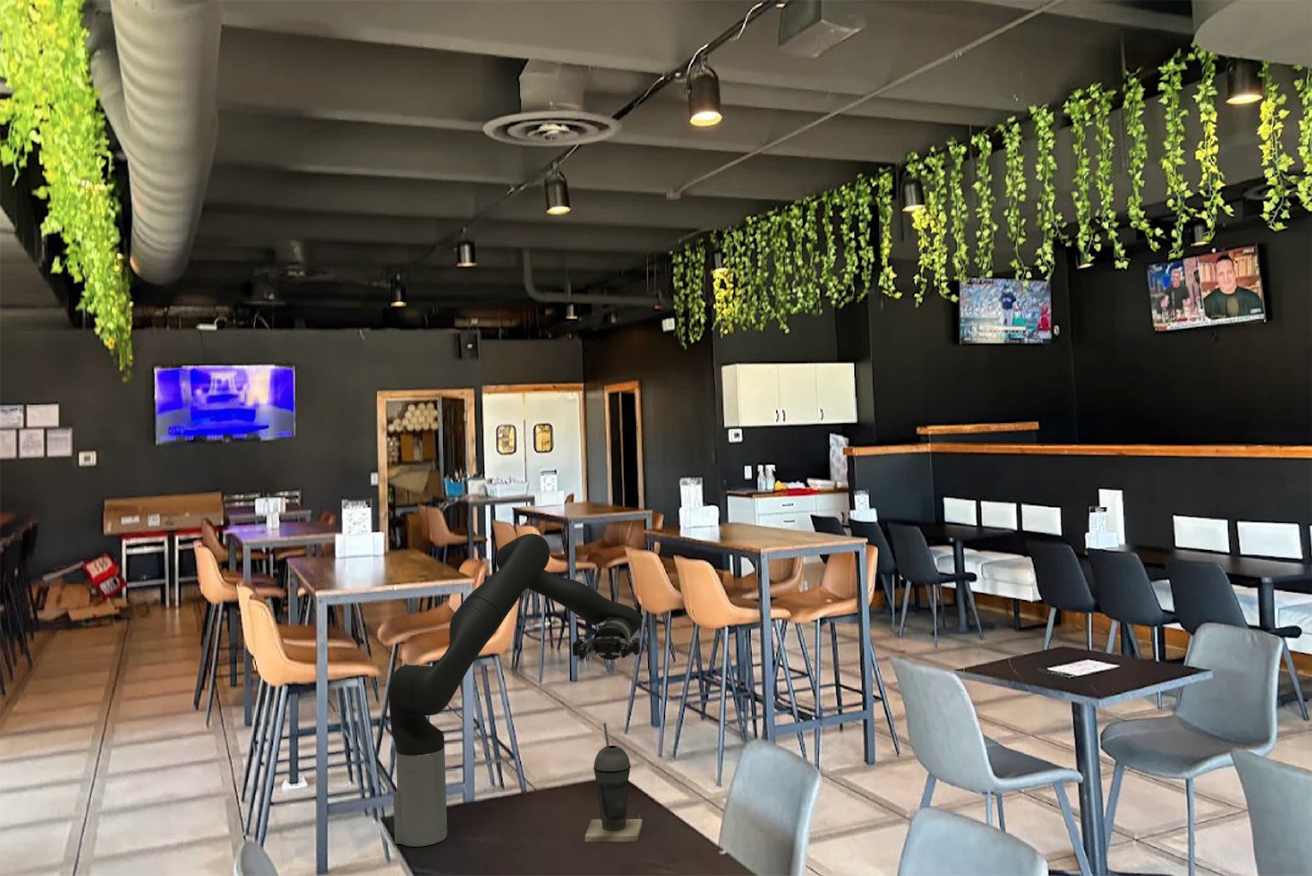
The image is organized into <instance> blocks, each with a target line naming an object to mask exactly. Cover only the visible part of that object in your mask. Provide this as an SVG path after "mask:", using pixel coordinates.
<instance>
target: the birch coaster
mask: <svg viewBox="0 0 1312 876" xmlns="http://www.w3.org/2000/svg"><path fill="white" fill-rule="evenodd" d="M642 826H643V819H642V818H634V819H633V818H632V819H631V818H628V819H627V818H626V827H625V828H624V829H623V830H620V831H606V830H604V829H603V828H602V821H601V818H600V819H597V818H596V819H594V818H591V820H590V823H589V825H588V827H587V830H586V833H585V835H584V842H585V843H587V842H590V843H591V842H592V843H593V842H596V843H597V842H598V843H599V842H602V843H603V842H604V843H605V842H608V843H609V842H610V843H611V842H613V843H614V842H615V843H616V842H617V843H618V842H620V843H621V842H638V841H639V838H640V833H641V831H642Z"/></svg>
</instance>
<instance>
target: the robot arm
mask: <svg viewBox="0 0 1312 876" xmlns="http://www.w3.org/2000/svg"><path fill="white" fill-rule="evenodd" d="M550 556H551V550H550V546H549V543H548V541H547V540H546V539H545V538H544V537H543V536H541V535H539V534H537V533H526V534H522V535H520V536H519V537H516V538H515V539H512V540H511V541H509V542H507V543H506V544H504V545H502V546H501V547H500V548H499V549H498V551H497V553H496V556H495V562H496V566H497V571H495V572H494V573H493V574H492V575H491V576H489V577H488V578H487V579H485V580H484V581H483V582H482V583H481V584H480V585H478V586H477V587H476V588H475V589H474V590H473V591H472V592H470V594H469V595H467V597H466V598H465V599H464V601H463V602H462V603H461V604H460V605H459V606H458V608H457V609H456V611H455V612H454V613H453V614H452V617H451V618H450V623H449V631H448V633H449V634H448V635H449V636H448V637H449V641H448V642H449V643H448V647H447V649H446V650H445V652H444V653H443V655H442V656H441V657H440V659H438V661H437V662H436V663H434V664H432V665H431V666H429V665H416V664H404V665H401V666H400V667H398V668H397V669H396V670H395V671H394V672H393V675H392V676H391V679H390V682H389V686H388V705H389V706H388V708H389V718H390V733H391V737H392V739H393V742H394V745H395V758H396V759H395V760H396V761H395V762H396V763H395V765H396V766H395V767H396V791H395V792H394V793H393V821H394V822H393V824H394V826H393V827H394V843H395V844H396V845H397V844H401V845H403V846H407V847H425V846H430V845H434V844H437V843H440V842H442V841H444V840H445V839H446V838H447V837H448V821H447V819H448V818H447V785H446V753H445V752H446V751H445V750H446V748H445V735H444V733H443V731H442V730H441V729H440V728H438V727H436V726H435V725H434V724H433V723H431V722H430V721H429V719H428V718H427V716H428V717H429V716H436V715H438V714H440V713H441V712H443V710H445V709H446V708H447V706H448V705H449V704H450V702H451V701H452V699H453V697H454V695H455V694H456V692H457V690H458V689H459V687H460V685H461V683H462V681H463V679H464V678H465V677H466V675H467V673H468V671H469V669H470V667H472V665H473V663H474V662H475V660H477V658H478V656H479V654H480V653H481V652H482V650H483V649H484V648H485V646H486V645H487V644H488V642H489V641H490V640H491V638H492V637H493V636H494V635H495V634H496V632H497V631H498V630H499V628H500V626H501V625H502V623H503V622H504V621H505V619H506V617H507V616H508V615H509V613H510V612H511V610H513V608H514V607H515V605H516V604H517V602H518V601H519V599H520V598H521V596H522V594H523V593H524V592H525V591H526V589H528V590H530V591H533V592H534V593H537V594H539V595H541V596H543V597H545V598H547V599H550V600H551V601H553V602H556V603H557V604H559V605H561V606H562V607H564V608H566V609H567V610H568V611H570V612H572V613H574V615H576V616H578V617H579V618H581V620H582V619H583V621H585V622H586V623H588V624H590V625H592V626H597V625H601V623H603V622H604V621H605V620H606V619H607V620H606V621H605V622H604V623H603V624H602V625H601V626H600V627H599V628H598V630H597V631H596V632H595V634H594V637H593V638H590V639H588V640H587V641H586V642H585V640H584V639H582V638H579V639H576V640H575V641H574V642H573V643H572V644H571V646H572V656H574V657H578V658H580V659H581V660H582V659H583V660H584V659H586V657H587V656H588V657H596V656H599V657H600V658H602V659H604V660H607V661H614V660H616V659H619V658H621V659H625V658H626V657H628V656H631V654H632V653H633V655H634V656H638V655H639V654H640V653H641V639H640V638H639V637H635V638H633V639H632V640H631V638H632V637H633V636H634V635H635V634H636V633H637V631H638V630H639V629H640V628H641V626H642V624H643V618H642V616H641V614H640V613H639V612H638V611H637V610H636V608H633V607H631V606H630V605H627V604H623V603H620V602H616V601H614V600H611V599H609V598H606V597H605V596H603V595H602V594H601V593H599V592H597V591H596V590H594V588H592V587H590V586H589V585H587V584H585V583H583V582H581V581H577V580H575V579H571V578H568V577H565V576H561V575H557V574H555V573H552V572H550V571H548V570H546V568H547V566H548V564H549V561H550V558H551V557H550Z"/></svg>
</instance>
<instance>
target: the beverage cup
mask: <svg viewBox="0 0 1312 876" xmlns="http://www.w3.org/2000/svg"><path fill="white" fill-rule="evenodd" d="M603 729H604V736H605V743H606V745H605V746H604V747H603V748H601V749H600V750H599V751H598V753H597V754H596V756H595V759H594V763H593V767H592V769H593V770H594V771H593V772H594V776H595V778H594V779H595V781H596V788H597V796H598V805H599V813H600V819H601V821H602V828H603V829H604V830H606V831H620V830H623V829H624V828H625V827H626V819H627V812H628V810H627V809H628V791H629V790H628V789H629V788H628V787H629V778H630V772H631V767H632V766H631V762H630V758H629V756H628V753H626V751H625V750H624V749H623V748H622V747H621V746H618V745H615V744H614V745H612V744H610V742H609V736H608V728H607V723H606V722H603Z"/></svg>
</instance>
